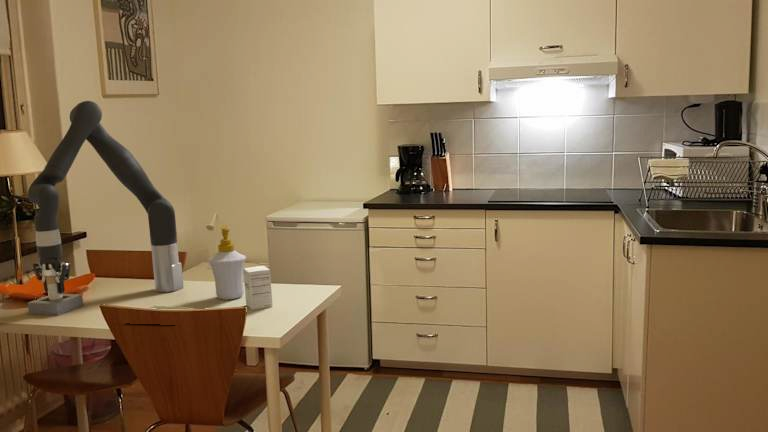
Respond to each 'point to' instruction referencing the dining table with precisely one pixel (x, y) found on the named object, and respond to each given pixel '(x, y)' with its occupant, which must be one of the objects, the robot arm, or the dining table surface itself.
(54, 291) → the sprinkles bottle
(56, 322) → the dining table surface
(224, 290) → the soap bottle
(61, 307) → the shallow gray tray
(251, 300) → the supplement box
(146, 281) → the dining table surface
